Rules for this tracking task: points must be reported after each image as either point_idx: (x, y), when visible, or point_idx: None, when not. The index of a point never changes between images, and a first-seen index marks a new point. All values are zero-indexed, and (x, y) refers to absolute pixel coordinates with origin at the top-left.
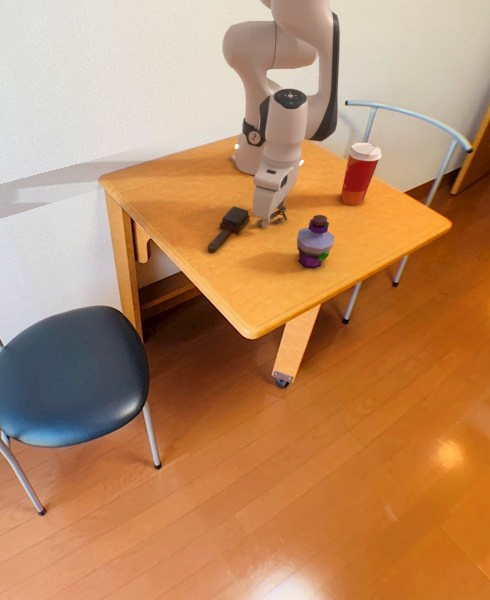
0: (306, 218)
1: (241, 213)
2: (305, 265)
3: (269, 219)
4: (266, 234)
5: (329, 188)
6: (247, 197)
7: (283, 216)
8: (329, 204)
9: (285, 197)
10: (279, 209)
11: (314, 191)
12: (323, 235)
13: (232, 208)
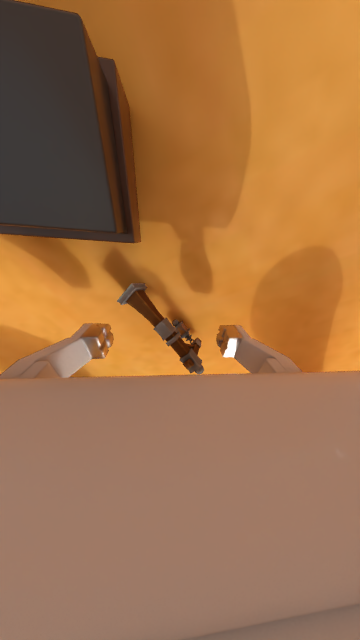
0: (223, 363)
1: (52, 196)
2: None
3: (77, 367)
4: (113, 318)
5: (348, 365)
6: (350, 128)
7: (193, 344)
8: None
9: (251, 370)
10: (186, 356)
11: (341, 348)
12: None
13: (34, 30)
